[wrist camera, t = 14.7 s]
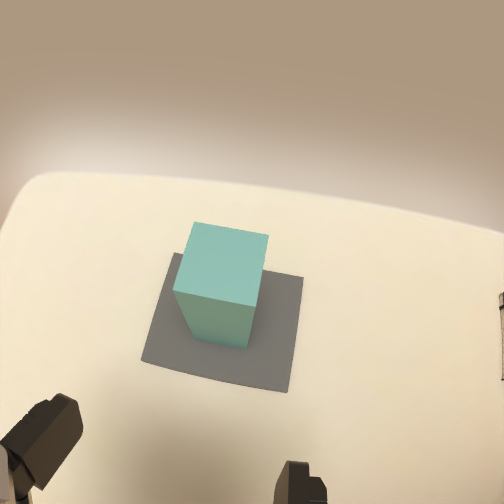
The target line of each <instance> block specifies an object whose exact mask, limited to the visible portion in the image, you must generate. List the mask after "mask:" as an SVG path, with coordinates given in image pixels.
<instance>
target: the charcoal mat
mask: <svg viewBox="0 0 504 504" xmlns="http://www.w3.org/2000/svg"><path fill="white" fill-rule="evenodd" d="M182 257H183V254H179V253H174V254H173V257H172V260H171V263H170V266H169V269H168V272H167V275H166V278H165V281H164V284H163V287H162V290H161V294H160V297H159V300H158V303H157V306H156V310H155V313H154V316H153V319H152V323H151V326H150V330H149V333H148V336H147V340H146V343H145V347H144V351H143V354H142V358H141V361H144V362H147V363H150V364H154V365H157V366H161V367H165V368H168V369H172V370H176V371H180V372H184V373H188V374H192V375H196V376H200V377H205V378H209V379H214V380H218V381H223V382H228V383H233V384H238V385H243V386H248V387H254V388H260V389H266V390H272V391H278V392H285V393H287V392H288V386H289V379H290V373H291V367H292V360H293V354H294V347H295V340H296V333H297V326H298V318H299V311H300V303H301V295H302V287H303V278H304V277H298V276H293V275H288V274H282V273H277V272H272V271H266V270H262V276H261V281H260V287H259V292H258V298H257V303H256V308H255V313H254V317H253V322H252V327H251V331H250V336H249V340H248V345H247V349H241V348H236V347H231V346H226V345H221V344H216V343H211V342H206V341H202V340H197V339H194V337H193V335H192V333H191V330H190V328H189V326H188V324H187V322H186V320H185V317H184V315H183V313H182V311H181V308H180V306H179V304H178V302H177V299H176V297H175V295H174V293H173V286H174V283H175V280H176V277H177V273H178V270H179V267H180V264H181V261H182Z"/></svg>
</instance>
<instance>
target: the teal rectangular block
mask: <svg viewBox="0 0 504 504" xmlns="http://www.w3.org/2000/svg"><path fill="white" fill-rule="evenodd" d="M268 236H269V235H266V234H260V233H255V232H249V231H244V230H238V229H233V228H227V227H221V226H216V225H210V224H204V223H198V222H194V224H193V227H192V230H191V233H190V236H189V239H188V242H187V245H186V248H185V251H184V254H183V257H182V261H181V264H180V267H179V270H178V273H177V277H176V280H175V283H174V286H173V293H174V295H175V297H176V299H177V302H178V304H179V306H180V308H181V311H182V313H183V315H184V317H185V320H186V322H187V324H188V326H189V328H190V330H191V333H192V335H193V337H194V339H197V340H202V341H206V342H211V343H216V344H221V345H226V346H231V347H236V348H241V349H247V345H248V340H249V336H250V331H251V327H252V322H253V317H254V313H255V308H256V303H257V298H258V292H259V287H260V281H261V276H262V270H263V264H264V259H265V253H266V248H267V242H268Z"/></svg>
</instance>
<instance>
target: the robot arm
mask: <svg viewBox="0 0 504 504" xmlns="http://www.w3.org/2000/svg"><path fill="white" fill-rule="evenodd" d="M82 433H83V423H82V419H81V415H80V411H79V406H78V403H77V401H76V400H74V399H72V398H70V397H68V396H65V395H63V394H61V393H58V394H57V395H55V396H54V397H53V399H52V400H51V401H48V400H47V399H46V400H44V401H42V402H40V403H37V404H36V405H35V406H34V407H33V408H32V409H31V410H30V411H29V412H28V414H26V415H25V416H24V417H23V418H22V420H20V421H19V422H18V423H17V424H16V425H15V426H14V427H13V428H12V429H11V430H10V431H9V432H8V434H7V435H6V436H5V437H4V438H3V439H2V440H1V441H0V504H33V502H32V495H31V491H30V489H31V488H32V487H33V485H34V486H36V487H37V488H39V489H40V490H42V491H43V489H44V488H45V486H46V485H47V484H48V482H49V481H50V479H51V478H52V477H53V475H54V474H55V472H56V471H57V469H58V468H59V467H60V465H61V464H62V463H63V461H64V460H65V458H66V457H67V456H68V454H69V453H70V451H71V450H72V449H73V447H74V446H75V445H76V443H77V442H78V440H79V439H80V438H81V435H82ZM273 504H328V503H327V489H326V487H325V485H324V483H323V482H322V480H321V478H320V477H309V464H308V463H307V462H297V461H286V463H285V465H284V468H283V470H282V472H281V474H280V476H279V478H278V480H277V483H276V487H275V492H274V502H273Z"/></svg>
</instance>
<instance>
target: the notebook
mask: <svg viewBox="0 0 504 504" xmlns="http://www.w3.org/2000/svg"><path fill="white" fill-rule="evenodd" d="M499 308H500V310H501V322H502V344H503V375H502V379H501V380H504V292H503V294H502V295H501V296H500V307H499Z"/></svg>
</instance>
